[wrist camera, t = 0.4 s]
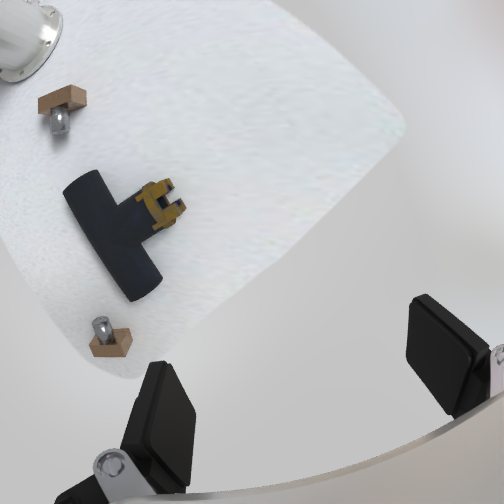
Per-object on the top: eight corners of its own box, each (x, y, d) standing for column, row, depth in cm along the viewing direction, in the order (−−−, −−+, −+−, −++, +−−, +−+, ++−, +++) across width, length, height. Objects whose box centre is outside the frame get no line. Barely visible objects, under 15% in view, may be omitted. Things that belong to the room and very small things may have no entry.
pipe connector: (132, 135, 25) (207, 262, 30) (147, 137, 30) (211, 246, 35) (54, 197, 26) (124, 307, 31) (76, 190, 31) (136, 288, 36)
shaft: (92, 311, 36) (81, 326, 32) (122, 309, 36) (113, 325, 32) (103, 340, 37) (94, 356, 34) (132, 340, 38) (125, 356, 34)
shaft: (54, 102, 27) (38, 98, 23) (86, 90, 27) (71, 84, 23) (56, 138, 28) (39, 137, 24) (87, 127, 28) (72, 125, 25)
